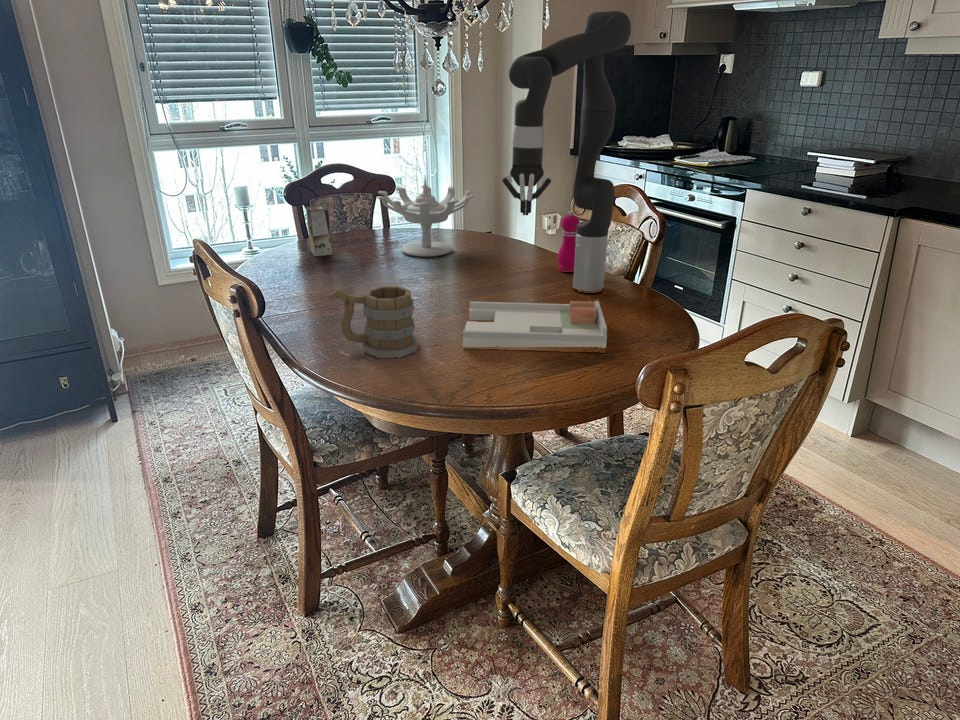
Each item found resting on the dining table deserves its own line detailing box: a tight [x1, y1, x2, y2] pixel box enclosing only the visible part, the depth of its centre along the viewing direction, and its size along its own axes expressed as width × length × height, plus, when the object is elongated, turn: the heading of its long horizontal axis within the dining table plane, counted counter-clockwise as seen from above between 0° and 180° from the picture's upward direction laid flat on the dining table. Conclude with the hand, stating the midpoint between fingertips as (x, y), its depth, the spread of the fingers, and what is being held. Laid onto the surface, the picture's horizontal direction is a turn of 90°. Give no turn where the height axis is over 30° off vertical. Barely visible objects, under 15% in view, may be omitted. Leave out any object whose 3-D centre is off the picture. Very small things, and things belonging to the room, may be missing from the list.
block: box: [569, 300, 596, 325], centre depth 167 cm, size 6×6×4 cm
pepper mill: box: [557, 210, 581, 271], centre depth 215 cm, size 7×7×20 cm
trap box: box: [462, 300, 608, 349], centre depth 165 cm, size 22×34×6 cm, turn 86°
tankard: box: [328, 285, 419, 359], centre depth 155 cm, size 20×13×15 cm, turn 92°
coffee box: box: [305, 205, 333, 257], centre depth 234 cm, size 9×6×16 cm
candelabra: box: [377, 177, 475, 258], centre depth 234 cm, size 34×35×27 cm
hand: (525, 214), depth 170 cm, fingers closed
